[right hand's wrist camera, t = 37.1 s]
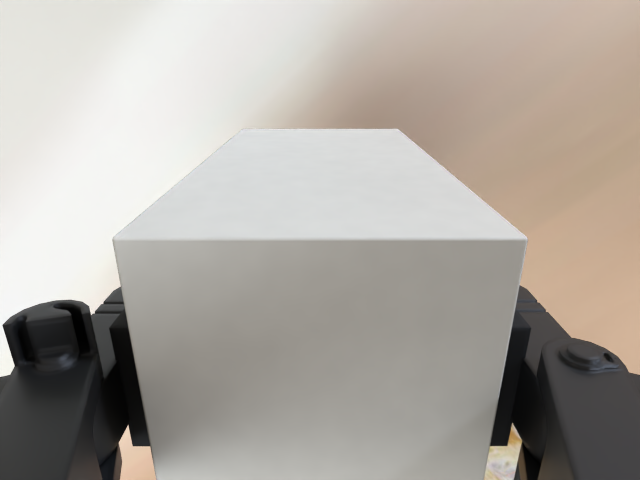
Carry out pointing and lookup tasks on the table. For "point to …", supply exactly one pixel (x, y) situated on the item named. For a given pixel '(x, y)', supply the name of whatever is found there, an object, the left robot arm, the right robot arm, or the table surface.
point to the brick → (320, 312)
